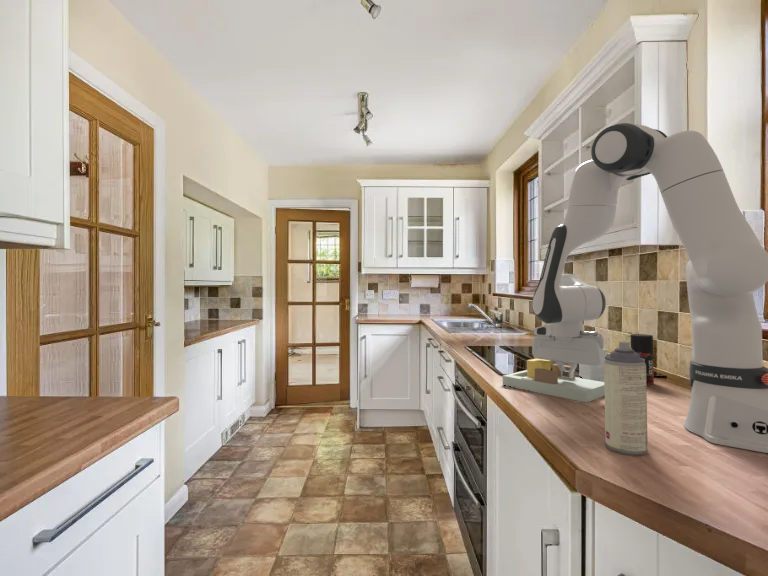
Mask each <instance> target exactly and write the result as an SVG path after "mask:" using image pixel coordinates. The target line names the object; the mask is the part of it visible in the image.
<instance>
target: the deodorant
mask: <svg viewBox="0 0 768 576" xmlns="http://www.w3.org/2000/svg"><path fill="white" fill-rule="evenodd" d="M653 337H654V335H653V334H644V333H641V334H639V333H635V334H630V348H632V350H634V352H636V353H638V354H639V356H640V358H643V359H645V361H644V362H645V364H646V386H652V384H653V385H655V383H654V382H655V381H654V380H655V375H654V372H655V371H654V338H653Z"/></svg>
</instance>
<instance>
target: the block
mask: <svg viewBox="0 0 768 576" xmlns="http://www.w3.org/2000/svg"><path fill="white" fill-rule="evenodd" d="M537 368H541V369H548V370H552V360H544V359H536V358H532V359H527V360H526V370H527V377H533V378H535V369H537Z"/></svg>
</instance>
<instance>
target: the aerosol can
mask: <svg viewBox="0 0 768 576" xmlns="http://www.w3.org/2000/svg"><path fill="white" fill-rule="evenodd" d="M644 361H645V359H643V358H640V356H639V354H638V353H636V352H634V350H632V348H631V343H630V341H618V346H617V347H616V348H614V350H613V351H611V352H610V353H609V355H607V356H606V357H605V361H604V387H605V396H604V431H605V434H604V435H605V447H606V449H608V450H609V449H610V450H609V451H610V452H614V453H616V452H617V454H620V453H621V454H620V455H624V454H626V455H625V456H630V455H636V456H635V457H639V455H642V456H645V455H644V454H646V453H647V452H648V453H649V450H648V448H649V445H648V442H649V441H648V401H647V400H648V398H647V397H648V394H647V392H648V391H647V387H648V386H647V385H646V364H645V362H644ZM648 453H647V454H648ZM647 454H646V455H647Z"/></svg>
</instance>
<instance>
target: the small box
mask: <svg viewBox="0 0 768 576" xmlns="http://www.w3.org/2000/svg"><path fill="white" fill-rule="evenodd" d="M603 349H604V355H605V357H606V356H608V350H607V349H606V348H603ZM578 368H579V369H578V372H579V373H578V375H579V376H581V377H582V378H583V379H588V380H594V381H601V382H604V364H603V365H600V366H592V365H584V364H578ZM579 376H578V377H579Z"/></svg>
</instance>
